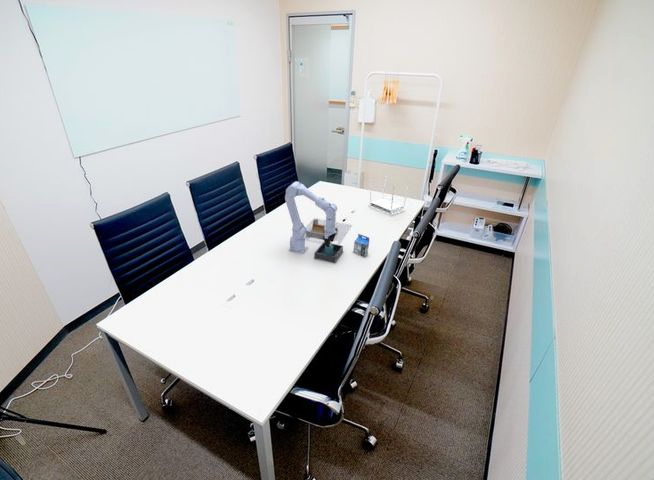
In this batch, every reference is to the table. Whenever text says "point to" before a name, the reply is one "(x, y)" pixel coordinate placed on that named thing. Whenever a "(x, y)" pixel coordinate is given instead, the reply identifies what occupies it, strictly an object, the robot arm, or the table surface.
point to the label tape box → (361, 245)
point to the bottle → (329, 250)
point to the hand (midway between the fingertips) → (329, 244)
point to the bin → (322, 256)
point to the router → (387, 203)
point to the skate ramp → (319, 227)
